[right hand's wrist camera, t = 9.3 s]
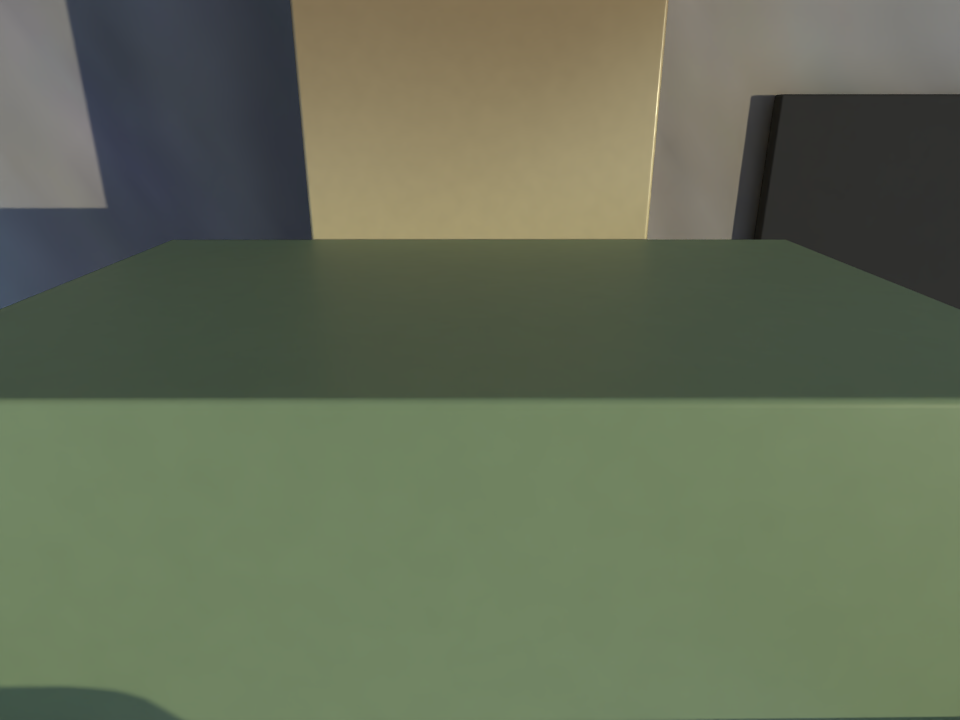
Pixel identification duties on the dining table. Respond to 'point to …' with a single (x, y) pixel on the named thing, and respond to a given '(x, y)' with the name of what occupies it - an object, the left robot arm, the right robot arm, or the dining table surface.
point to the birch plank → (479, 117)
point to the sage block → (479, 485)
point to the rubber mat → (869, 184)
